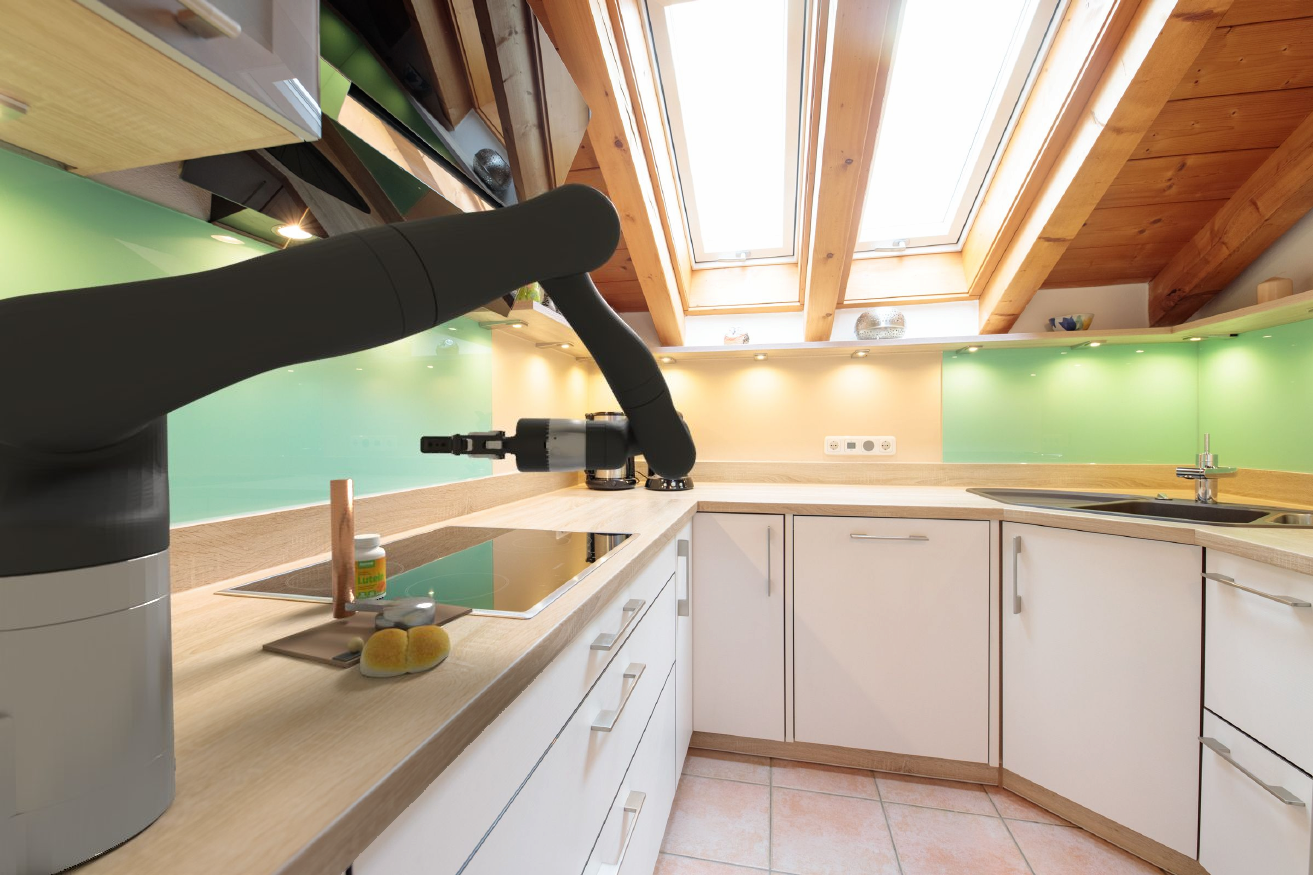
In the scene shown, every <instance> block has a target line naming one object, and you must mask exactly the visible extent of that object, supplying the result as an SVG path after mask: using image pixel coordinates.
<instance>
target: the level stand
mask: <svg viewBox="0 0 1313 875" xmlns="http://www.w3.org/2000/svg"><path fill="white" fill-rule="evenodd" d="M401 599H404V598H402V597H396V598H393V599H391V600H389V601H397V600H401ZM470 612H471V613H473V608H472V607H468V606H459V605H453V604H452V605H451V604H445V603H438V602H435V621H434V622H433V623H432V624H430V625H435V626H438V627H441V626H444V625H446V624H448V623H451V622H453V621H455V620H457V619H459V618H461V617H464V616H466V615H468V614H470ZM377 614H378V613H376V612H361V611H356V614H355V615H354V616H351V617H348V618H342V619H333V620H331V621H327V622H324V623H322V624H319V625H316V626H313V627H311V628H307V629H304V630H302V631H299V632H296V633H293V634H290V635H288V636H287V635H286V636H285V637H282V638H279V639H275V640H273V641H271V642H268V643H264V644H261V648H262V650H264V651H268V652H273V653H277V654H282V655H286V656H291V657H295V658H300V659H305V660H310V661H314V662H318V663H322V664H328V665H332V666H337V667H341V668H344V669H345V668H346V669H348V668H350V667H353V666H355V665H356V664H357V665H358V664H360V658H361V653H362V651H363V647H364V645H365V644H366V643H367V641H368V640H369V639H370V637H371V636H372V635H374V634H375V633H376V632H378V631H379V630H376V629H375V616H376V615H377ZM428 626H429V625H428Z"/></svg>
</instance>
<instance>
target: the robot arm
mask: <svg viewBox="0 0 1313 875" xmlns="http://www.w3.org/2000/svg"><path fill="white" fill-rule="evenodd" d="M621 225H622V224H621V219H620V216H619V213H618V211H617V208H616V207H615V205H614V203H613V202H612V200H610V198H609V197H608V196H606V194H604V193H603V192H602V191H601V190H599V189H597V188H595V187H593V186H591V185H588V184H585V183H577V182H576V183H575V182H572V183H571V182H570V183H565V184H562V185H559V186H557V187H555V188H552V189H550V190H548V191H545V192H543V193H541V194H539V195H537V196H534V197H533V198H529V199H528V200H524V201H520V202H517V203H515V204H512V205H511V204H510V205H508V206H504V207H499V208H494V209H488V210H480V211H471V212H460V213H452V214H451V213H450V214H442V215H438V216H429V217H424V218H417V219H412V220H411V219H410V220H405V221H404V220H403V221H399V222H398V221H397V222H393V223H392V222H390V223H386V224H382V225H377V226H372V227H367V228H363V229H358V230H353V231H348V232H344V233H340V234H336V235H332V236H329V237H325V238H324V237H323V238H321V239H318V240H312V241H309V242H306V243H302V244H301V243H300V244H297V245H294V246H290V247H286V248H282V249H277V250H275V251H272V252H268V253H265V254H261V255H257V256H255V257H251V258H248V259H245V260H241V261H240V262H239V261H238V262H235V263H232V264H228V265H225V266H221V267H217V268H212V269H207V270H203V271H197V272H190V273H186V274H184V273H183V274H180V275H172V276H166V277H156V278H150V279H144V280H142V279H141V280H136V281H135V280H134V281H128V282H121V283H113V284H104V285H98V286H89V287H80V288H70V289H63V290H53V291H44V292H39V293H29V294H28V293H27V294H24V295H23V294H22V295H17V296H12V297H11V296H10V297H6V298H2V299H0V875H51V874H53V875H55V874H57V873H60V871H61V872H63V871H65V870H64V869H66V870H68V869H70V868H69V867H71V868H73V867H72V866H73V865H76V866H78V865H77V864H79V863H81V862H83V861H85V860H87V859H89V858H91V857H93V856H95V854H98V853H101V852H104V851H106V850H108V849H110V848H111V847H113V848H115V847H117V846H119V845H121V844H122V843H121V842H123V843H125V842H126V841H127V839H128V840H129V839H131V838H132V837H133V836H135V835H137V834H139V833H140V832H141V831H143V830H144V829H146V828H147V827H148V826H150V825H151V824H152V823H153V822H155V821H156V820H157V819H158V818H160V816H161V815H162V814H163V813H164V812H165V811H166V810H167V809H168V808H169V807H170V805H171V804H172V802H173V801H174V799H175V795H176V770H177V768H176V767H177V766H176V765H177V762H176V756H175V723H174V721H175V720H174V715H175V714H174V712H175V711H174V682H173V680H174V678H173V644H172V643H173V641H172V639H173V638H172V636H173V635H172V602H171V601H172V598H171V591H172V589H171V552H170V551H171V549H170V548H171V547H170V545H171V538H170V537H171V535H170V534H171V514H170V513H171V512H170V511H171V509H170V506H171V505H170V482H169V481H170V480H169V449H168V448H169V446H168V443H169V441H168V439H169V437H168V435H169V433H168V430H169V429H168V414H170V413H172V412H173V411H176V410H178V409H181V408H183V407H184V406H188V405H189V404H191V403H193V402H196V401H199V400H201V399H202V398H205V397H207V396H210V395H211V394H214V393H217V392H218V391H221V390H223V389H225V388H228V387H230V386H233V385H235V384H238V383H241V382H243V381H245V380H248V379H251V378H253V377H256V376H259V375H262V374H264V373H267V372H272V371H274V370H277V369H281V368H282V369H283V368H286V367H289V366H294V365H300V364H305V363H309V362H310V363H311V362H315V361H322V360H326V359H332V358H333V359H334V358H337V357H342V356H348V355H351V354H355V353H359V352H360V353H361V352H363V351H367V350H371V349H375V348H379V347H383V346H385V345H388V344H393V343H395V342H398V341H402V340H403V339H407V338H409V337H412V336H415V335H418V334H421V333H423V332H426V331H429V330H432V329H433V328H435V327H437V326H441V325H442V324H445V323H447V322H450V321H452V320H455V319H457V318H459V317H463V316H465V315H466V314H469V313H471V312H473V311H476V310H477V309H480V308H482V307H484V306H486V305H489V304H491V303H492V302H495V301H497V300H499V299H500V298H502V297H504V296H507V295H508V294H511V293H512V292H514V291H517V290H519V289H521V288H523V287H526V286H529V285H531V284H535V283H537V284H538V285H539V286H540V288H541V289H542V290H543V291H544V293H545V294H546V295H547V297H549V299H550V300H551V301H552V303H553V304H554V306H555V307H556V309H558V311H559V312H560V314H561V315H562V317H563V318H564V320H566V322H567V323H568V325H569V326H570V328H572V330H573V331H574V333H575V334H576V335H577V337H578V338H579V340H580V341H581V342H582V344H583V345H584V347H585V348H586V350H587V351H588V353H589V354H590V355H591V357H592V359H593V360H594V362H595V363H596V365H597V366H598V369H599V370H600V372H601V374H602V376H603V377H604V379H605V381H606V383H607V384H608V386H609V388H610V390H611V392H612V394H613V396H614V397H615V399H616V401H617V404H618V405H619V407H620V408H621V410H622V412H623V414H625V416H626V418H623V419H620V420H614V421H613V420H588V419H586V420H583V419H575V418H547V417H540V418H537V417H535V418H533V417H522V418H519V419H518V420H517V422H516V425H515V434H514V435H511V436H506V431H505V430H489V431H469V432H468V433H467V434H460V433H455V434H453V435H452V434H451V435H450V436H448V435H437V436H436V435H423V436H421V437H420V440H419V442H420V444H419V451H420V453H421V454H451V455H454V456H457V457H458V456H461V455H467V457H468V458H470V459H488V460H499V461H500V460H506V454H510V455H514V456H515V465H516V469H517V470H518V471H519V472H520V473H570V472H577V471H585V470H586V471H613V470H614V471H615V470H620V469H622V468H624V467H625V465H626V464H627V462H628V459H629V458H632V457H637V456H643V458H644V460H645V462H646V464H647V466H648V467H649V468H650V470H651V471H652V472H653V473H654V474H656V475H657V476H659V477H660V478H662V479H666V480H679V479H681V478H684V477H686V476H687V475H688V474H689V473H690V472H691V471H692V470H693V468H694V466H695V464H696V459H697V450H696V445H695V442H694V440H693V437H692V434H691V430H690V428H689V426H688V424H687V422H686V421H685V420H684V419H683V418H682V417H680V415H679V413H678V412H677V409H676V407H675V405H674V403H673V399H672V398H673V397H672V395H671V391H670V388H669V386H668V384H667V381H666V379H665V377H664V375H663V373H662V370H661V368H660V367H659V364H658V362H657V360H656V358H655V356H654V355H653V353H652V352H651V350H650V348H649V347H648V345H647V344H646V342H644V340H643V339H642V337H640V336H639V335H638V334H637V332H635V331H634V330H633V328H631V326H630V325H628V324H627V323H626V322H625V320H623V319H622V318H621V317H620V316H619V315H618V314H617V313H616V312H615V311H614V310H613V308H612V307H611V306H610V305H609V304H608V303H607V301H606V300H605V299H604V298H603V296H602V294H600V292H599V290H598V289H597V287H596V286H595V283H594V282H593V280H592V278H591V276H590V273H592V272H594V271H596V270H598V269H600V268H601V267H602V266H604V265H606V264H607V263H608V261H610V259H611V258H612V257H613V255H614V254H615V252H616V250H617V248H618V246H619V243H620V241H621V240H620V238H621V232H622V231H621V230H622V226H621ZM172 800H173V801H172ZM125 840H126V841H125ZM120 843H121V844H120ZM118 844H119V845H118ZM116 845H117V846H116ZM114 846H115V847H114ZM110 850H111V849H110ZM108 851H109V850H108ZM106 852H107V851H106ZM104 853H105V852H104ZM89 860H90V859H89ZM87 861H88V860H87ZM85 862H86V861H85ZM83 863H84V862H83ZM81 864H82V863H81ZM79 865H80V864H79ZM67 868H68V869H67Z"/></svg>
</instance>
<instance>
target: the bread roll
mask: <svg viewBox="0 0 1313 875" xmlns="http://www.w3.org/2000/svg"><path fill="white" fill-rule="evenodd" d="M451 644H452V643H451V638H450V636H449V634H448V633H447V631H445V630H444V628H442V627H441V626H439V627H438V626H435V625H429V626H418V627H414V628H411V629H409V630H407V631H403V630H400V629H395V628H393V629H384V630H381V631H378V632H376V633H375V634H374V635H372V636H371V637H370V639H369V640H368V641H367V643H366V644H365V645H364V647H363V651H362V653H361V658H360V662H359V671H360V673H361V674H362V675H364V676H367V677H370V678H371V677H372V678H391V677H397V676H401V675H404V674H406V673H409V674H415V673H420V672H424V671H428V670H431V669H432V668H434V667H436V666H437V665H439V664H440V663H441V662H442V661H444V660H445V659H446V658H447V657H448V656H449V655H450V652H451V650H452V649H451V648H452V645H451Z"/></svg>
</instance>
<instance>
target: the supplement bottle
mask: <svg viewBox="0 0 1313 875" xmlns="http://www.w3.org/2000/svg"><path fill="white" fill-rule="evenodd" d="M380 544H381V535H380V534H379V533H365V534H358V535H354V552H355V598H356V599H372V600H375V599H378V600H380V599H379V598H381V599H383V598H384V597H385V596H386V595H387V578H386V577H387V574H386V570H387V569H386V567H387V566H386V565H387V563H386V560H387V559H386V551H385V548H383V547H380V546H379V545H380ZM382 597H383V598H382Z"/></svg>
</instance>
